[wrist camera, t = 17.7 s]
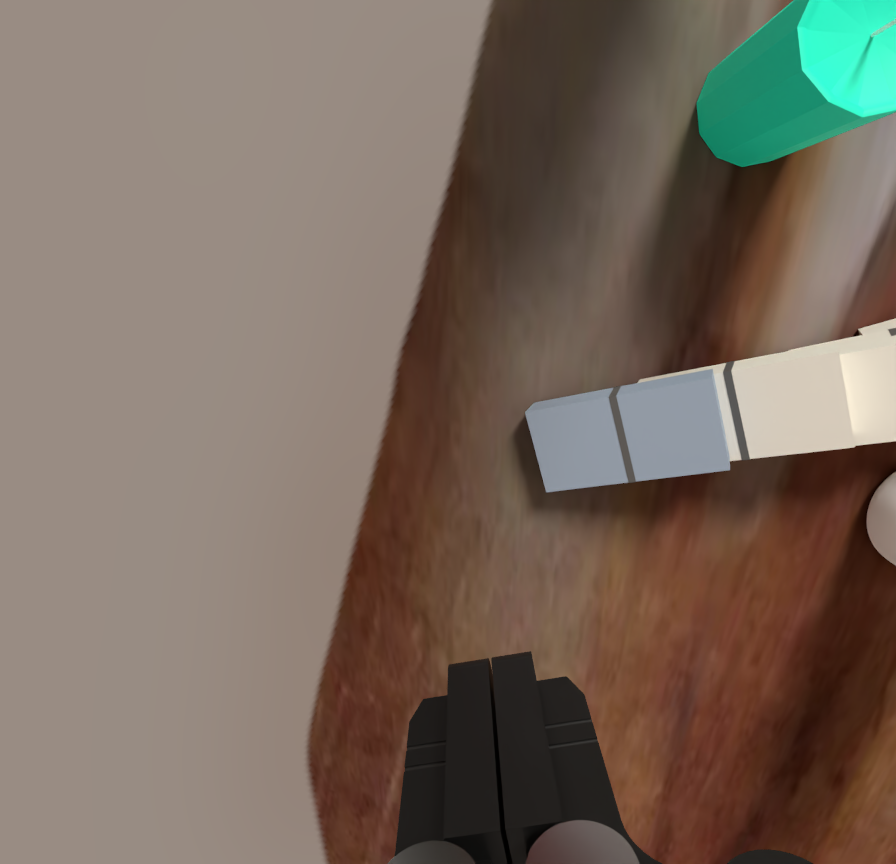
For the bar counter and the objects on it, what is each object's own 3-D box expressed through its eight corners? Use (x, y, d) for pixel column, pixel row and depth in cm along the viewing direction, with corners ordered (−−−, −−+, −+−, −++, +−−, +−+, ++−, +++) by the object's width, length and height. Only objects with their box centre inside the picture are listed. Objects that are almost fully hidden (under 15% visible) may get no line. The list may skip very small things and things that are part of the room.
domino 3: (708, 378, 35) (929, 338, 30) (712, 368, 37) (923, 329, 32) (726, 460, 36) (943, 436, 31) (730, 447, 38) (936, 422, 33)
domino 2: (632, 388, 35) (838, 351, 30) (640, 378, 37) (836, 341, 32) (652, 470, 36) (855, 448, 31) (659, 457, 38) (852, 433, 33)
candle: (758, 189, 35) (912, 141, 23) (672, 123, 34) (786, 38, 22) (832, 91, 33) (1034, -14, 22) (745, 20, 33) (906, -128, 21)
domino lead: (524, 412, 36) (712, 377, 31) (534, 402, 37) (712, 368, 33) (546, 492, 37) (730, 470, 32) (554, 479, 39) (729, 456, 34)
